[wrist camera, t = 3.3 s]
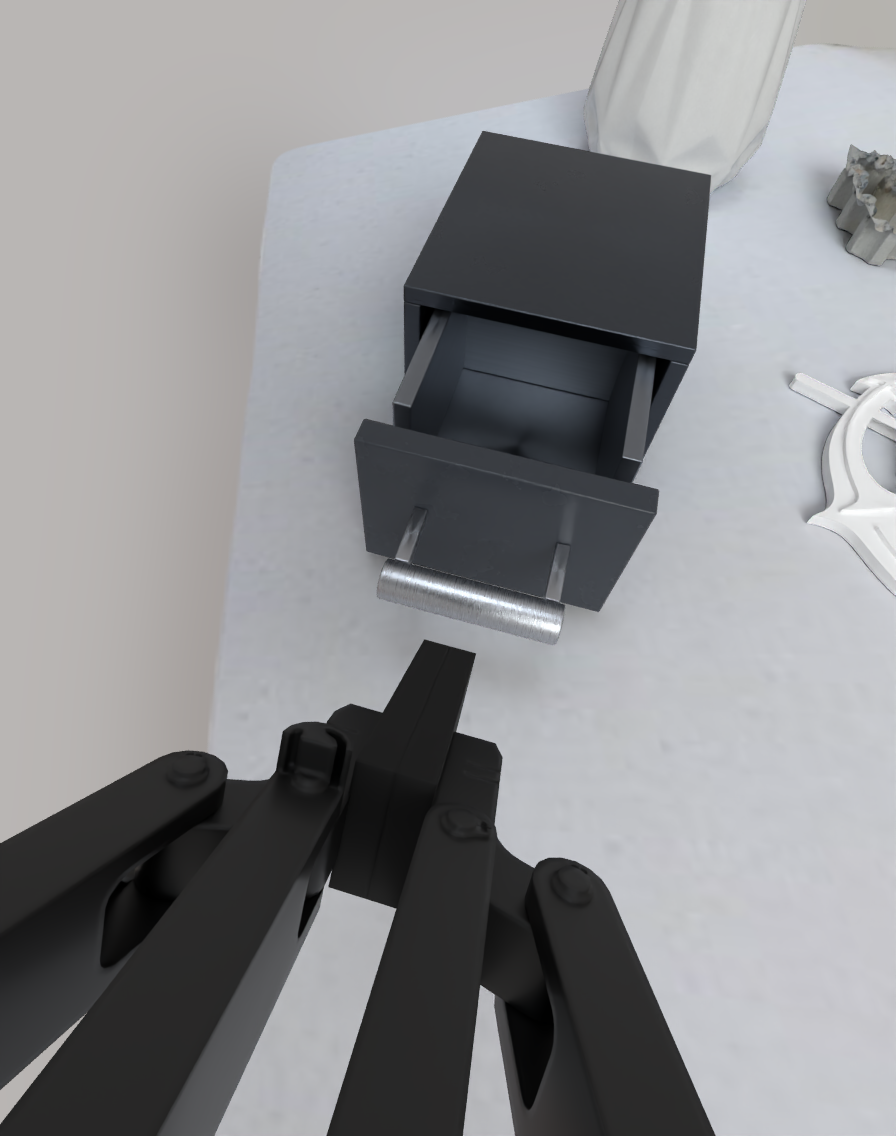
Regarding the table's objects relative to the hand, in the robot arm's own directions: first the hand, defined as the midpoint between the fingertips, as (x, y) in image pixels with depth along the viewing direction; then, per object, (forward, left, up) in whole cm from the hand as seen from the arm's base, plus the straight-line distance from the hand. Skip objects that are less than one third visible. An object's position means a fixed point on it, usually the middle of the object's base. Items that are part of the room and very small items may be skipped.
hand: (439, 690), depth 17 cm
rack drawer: (-12, +5, -9) cm, 16 cm away
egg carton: (-36, +41, -10) cm, 55 cm away
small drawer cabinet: (-22, +10, -9) cm, 26 cm away
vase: (-46, +26, -10) cm, 54 cm away
